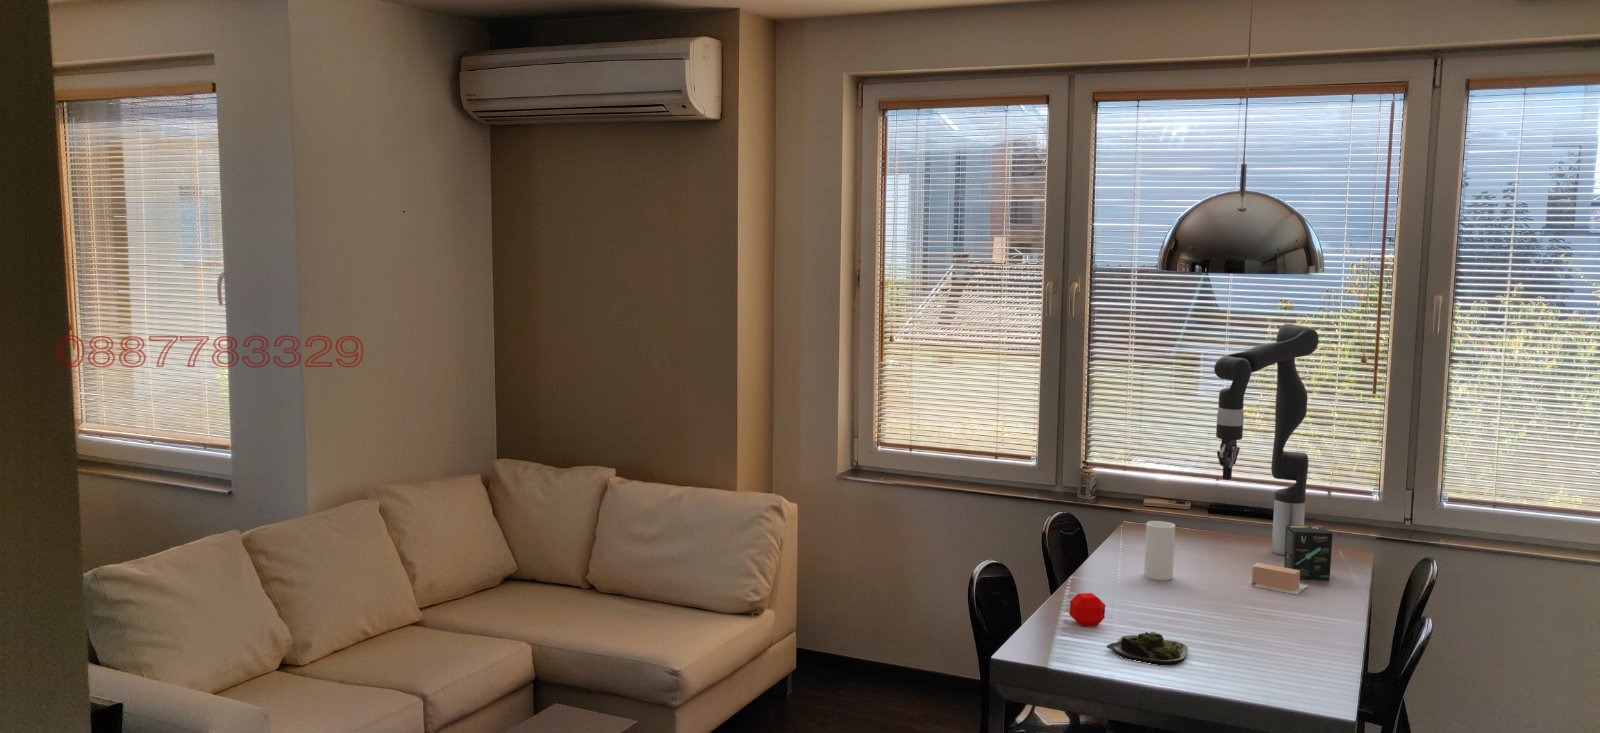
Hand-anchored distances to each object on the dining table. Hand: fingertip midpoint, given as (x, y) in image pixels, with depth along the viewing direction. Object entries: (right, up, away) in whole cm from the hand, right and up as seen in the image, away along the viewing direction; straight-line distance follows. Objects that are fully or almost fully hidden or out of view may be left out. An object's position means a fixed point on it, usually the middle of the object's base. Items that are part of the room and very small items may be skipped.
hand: (1226, 479), depth 345 cm
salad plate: (-46, -35, -71) cm, 92 cm away
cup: (-22, -29, -5) cm, 37 cm away
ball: (-55, -33, -50) cm, 82 cm away
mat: (+11, -30, -14) cm, 35 cm away
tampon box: (+24, -29, -1) cm, 38 cm away
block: (+5, -27, -9) cm, 29 cm away
